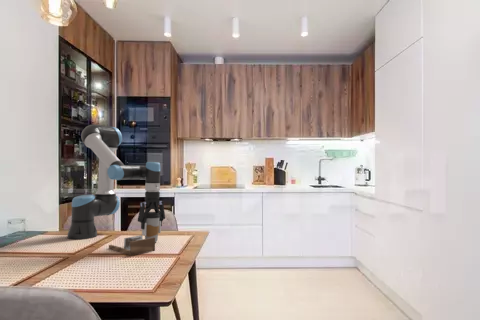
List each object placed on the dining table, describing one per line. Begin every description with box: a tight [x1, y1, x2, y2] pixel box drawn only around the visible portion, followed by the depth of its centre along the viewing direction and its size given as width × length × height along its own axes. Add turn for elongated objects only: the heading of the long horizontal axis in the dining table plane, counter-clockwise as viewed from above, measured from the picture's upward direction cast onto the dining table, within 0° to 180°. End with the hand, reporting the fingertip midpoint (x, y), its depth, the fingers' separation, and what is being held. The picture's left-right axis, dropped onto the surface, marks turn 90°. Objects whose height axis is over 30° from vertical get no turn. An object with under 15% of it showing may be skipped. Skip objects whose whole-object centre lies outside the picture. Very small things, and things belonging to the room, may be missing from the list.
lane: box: [108, 237, 156, 256], centre depth 155 cm, size 20×12×6 cm, turn 51°
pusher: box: [123, 234, 143, 250], centre depth 153 cm, size 4×9×6 cm, turn 140°
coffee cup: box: [144, 211, 160, 243], centre depth 170 cm, size 8×8×15 cm
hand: (151, 234), depth 170 cm, fingers closed on coffee cup, 8 cm apart
